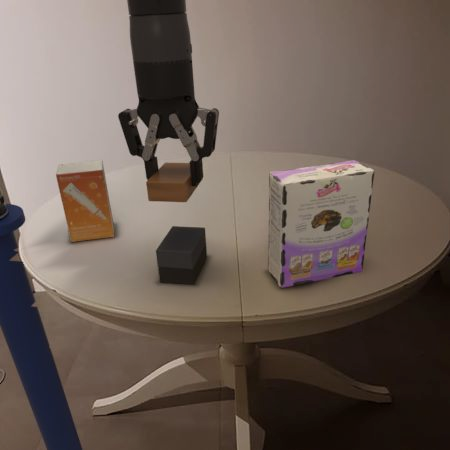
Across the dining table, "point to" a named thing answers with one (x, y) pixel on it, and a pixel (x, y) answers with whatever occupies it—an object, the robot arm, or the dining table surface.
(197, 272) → the black pad
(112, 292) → the dining table surface
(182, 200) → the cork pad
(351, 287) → the dining table surface
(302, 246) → the candy box
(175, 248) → the grey pad
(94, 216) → the small box
